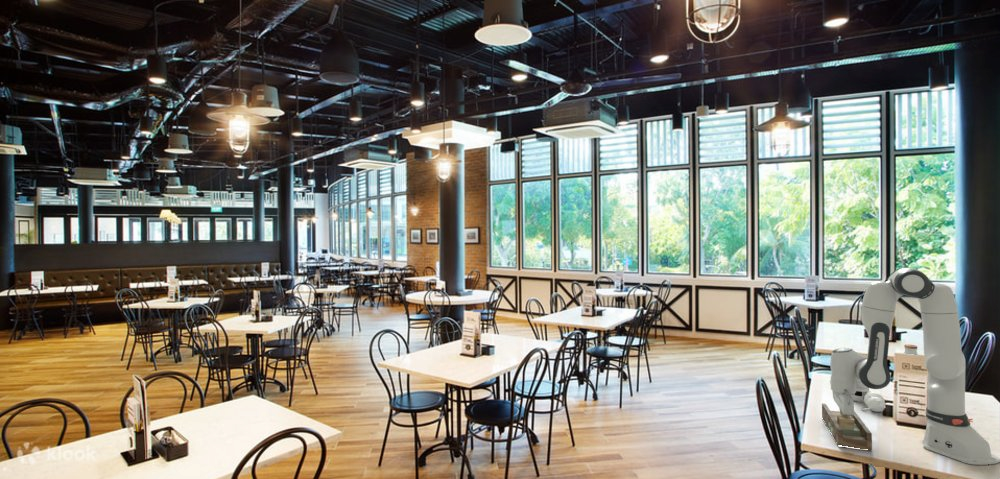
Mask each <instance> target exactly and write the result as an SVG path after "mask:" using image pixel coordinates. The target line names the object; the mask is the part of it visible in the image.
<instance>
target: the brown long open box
mask: <svg viewBox="0 0 1000 479" xmlns="http://www.w3.org/2000/svg"><path fill="white" fill-rule="evenodd" d="M837 414H840V410H839V411H837V410H836V411H835V410H830V408H829V406H828V405H827V404H826V403H821V419H822V418H823V419H822V421H823V420H824V421H825V423H826V425H827V426H826V425H825V426H826V428H827V427H828V428H829V430H830V432H831V433H832V435H833V437H834V439H835V440H836V442H837V444H838V445H842V446H848V447H854V448H860V449H868V450H872V451H873V439H872V437H873V436H872V434H873V433H872V432H871V430H870V429H869V428H868V426H867V425H866V424H865V422H864V421H863V420H862V419H861V417H860V416H859V414H857V413H856V411H855V410H854V416H852V417H853V419H854V430H853V429H844V428H841V427H840V426H839V424H838V422H837ZM824 421H823V422H824ZM825 423H824V424H825ZM828 428H827V429H828ZM829 430H828V431H829ZM830 432H829V433H830ZM831 433H830V434H831ZM832 435H831V436H832ZM833 437H832V438H833ZM834 439H833V440H834ZM836 442H835V443H836ZM837 444H836V445H837Z"/></svg>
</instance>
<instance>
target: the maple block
mask: <svg viewBox="0 0 1000 479" xmlns="http://www.w3.org/2000/svg"><path fill="white" fill-rule="evenodd" d="M837 422H838V424H839V426H840V427H841V428H844V429H853V430H854V419H853V417H852V416H846V415H840V414H837Z"/></svg>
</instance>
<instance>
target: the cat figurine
mask: <svg viewBox="0 0 1000 479" xmlns="http://www.w3.org/2000/svg"><path fill="white" fill-rule="evenodd" d="M864 401H865V402H864V403H865V404H866V406H867V407H866V408H861V411H862V410H863V411H869V410H871V411H872V412H876V413H882V412H883V411H884V410H885V409H886V404H885V403H886V400H885V398H884V397H883V395H882V394H880V393H878V392H876V391H871V390H869V391H867V394H866V395H865V397H864Z"/></svg>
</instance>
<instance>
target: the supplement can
mask: <svg viewBox="0 0 1000 479" xmlns="http://www.w3.org/2000/svg"><path fill="white" fill-rule="evenodd" d="M867 391H870V388H868V387H866V386H865V385H864V384H863V383H862V382H861V380H860V379H856V393H853V394H852V397H853V400H854V402H856V401H857V402H858V403H865V401H864V397H865V395H866V394H867Z"/></svg>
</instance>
